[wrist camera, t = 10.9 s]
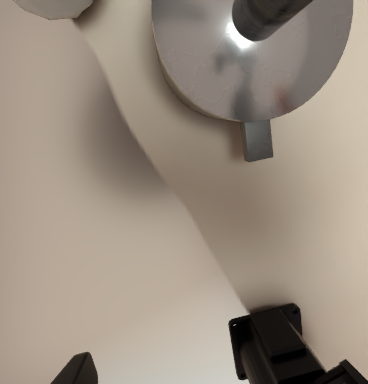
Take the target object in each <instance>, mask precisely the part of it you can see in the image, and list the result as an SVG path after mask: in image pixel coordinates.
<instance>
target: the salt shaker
mask: <svg viewBox="0 0 368 384" xmlns="http://www.w3.org/2000/svg"><path fill="white" fill-rule="evenodd" d="M13 1H14V2H15V3H17V4H18V5H19V6H20V7H21V8H22V9H24V10H26V11H28V12H31V13H33V14H36V15H39V16H41V17H44V18H46V19H49V20H55V19H65V18H78V16H79V15H80V14H81V13H82V12H83V10H85V9H86V8H87V7H89V6H90V5H91V4H92V2H93V0H13Z"/></svg>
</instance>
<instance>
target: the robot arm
mask: <svg viewBox="0 0 368 384" xmlns="http://www.w3.org/2000/svg"><path fill="white" fill-rule="evenodd" d="M293 310H294V311H293ZM234 324H236V325H235V326H233V325H234ZM228 325H229V331H230V336H231V343H232V349H233V355H234V361H235V368H236V373H237V376H238V379H239V380H245V379H248V380H249V383H250V384H368V381H367V380H366V379H365V378H364V377H363V376H362V375H361V374H360V373H359V372H358V371H357V370H356V369H355V368H354V367H353V366H352V365H351V364H350V363H349V362H348V361H347V360H346V359H345V360H343V361H342V362H340V363H339V364H340V365H338V366H336V367H334V368H333V369H331V370H329V371H328V372H327V371H326V369H325V368H324V367H323V365H322V364H321V363H320V361H319V360H318V358H317V357H316V356H315V354H314V353H313V352H312V350H311V349H310V347H309V346H308V345H307V343H306V342H305V341H304V339H303V338H302V325H301V313H300V309H299V307H298V306H297V305H296V304H291V305H287V306H283V307H279V308H275V309H271V310H266V311H262V312H258V313H254V314H250V315H246V316H242V317H238V318H234V319H231V320H230V321H229V324H228ZM51 384H98V375H97V371H96V368H95V365H94V362H93V359H92V356H91V354H90V353H89V352H84V353H81V354H77V355H75V356H74V357H73V358H72V359H71V360H70V361H69V362H68V363H67V365H66V366H65V367H64V368H63V369H62V371H61V372H60V373H59V374H58V375H57V377H56V378H55V379H54V380H53V381H52V382H51Z"/></svg>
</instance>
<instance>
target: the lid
mask: <svg viewBox="0 0 368 384" xmlns="http://www.w3.org/2000/svg"><path fill="white" fill-rule="evenodd" d="M352 15H353V0H152V25H153V33H154V38H155V42H156V46H157V50H158V53H159V55H160V58H161V61H162V63H163V65H164V67H165V69H166V71H167V73H168V75H169V76H170V78H171V79H172V81H173V82H174V84H175V85H176V86H177V88H178V89H179V90H180V91H181V92H182V93H183V94H184V95H185V96H186V97H187V98H188V99H189V100H190V101H191V102H193V103H194V104H195V105H196V106H198V107H200V108H201V109H203V110H204V111H206V112H208V113H210V114H212V115H214V116H217V117H220V118H223V119H226V120H232V121H238V122H252V121H261V120H268V119H272V118H276V117H279V116H282V115H284V114H286V113H289V112H291V111H293V110H294V109H296V108H298V107H300V106H301V105H303V104H304V103H305V102H307V101H308V100H309V99H311V98H312V97H313V96H314V95H315V94H316V93H317V92H318V91H319V90H320V89H321V88H322V86H323V85H324V84H325V83H326V82H327V80H328V79H329V78H330V76H331V74H332V73H333V71H334V70H335V68H336V66H337V64H338V62H339V60H340V58H341V56H342V54H343V51H344V49H345V46H346V43H347V40H348V36H349V32H350V28H351V22H352Z"/></svg>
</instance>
